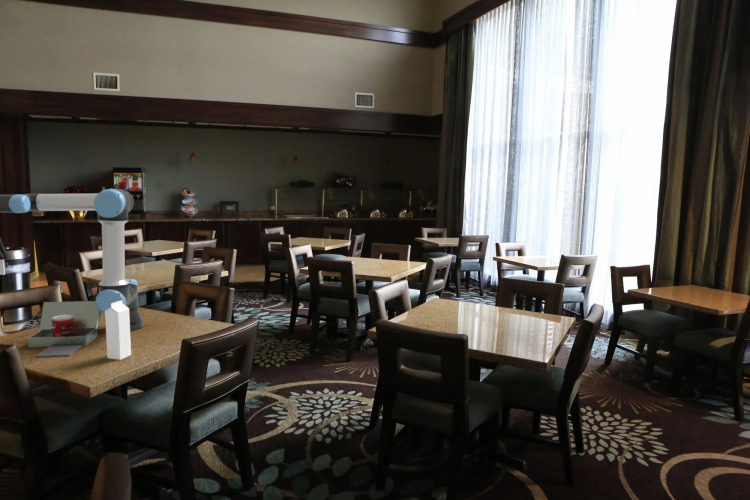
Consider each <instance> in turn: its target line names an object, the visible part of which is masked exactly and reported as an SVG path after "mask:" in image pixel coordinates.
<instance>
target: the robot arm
mask: <svg viewBox="0 0 750 500" xmlns="http://www.w3.org/2000/svg"><path fill="white" fill-rule="evenodd" d="M134 200H135V199H134V197H133V196H132V194H131V192H129V191H127V190H125V189H122V188H107V189H104V190H102V191H100V192H97V193H25V194H18V193H17V194H0V213H3V214H4V213H5V214H6V213H8V214H9V213H11V214H14V213H15V214H25V213H28V212H49V211H50V212H54V211H57V212H61V211H62V212H63V211H64V212H65V211H67V212H68V211H69V212H73V211H76V212H77V211H95V212H96V213H97V222H99V223H100V224H101V239H102V240H101V242H102V243H101V244H102V249H101V252H102V256H101V257H102V280H101V281H100V282H98V294H97V296H96V297H95V301H96V306H97V308H98V309H99V310H100V311H101V314H104V315H105V311H106V310H107V309H109V308H111V303H114V302H117V301H121V300H122V301H123V304H124V305H125V306H126V307H128V308H129V318H130V332H131V331H135V330H139V329H142V328H143V327H144V321H143V318H142V315H141V313H140V310H139V293H138V288H139V285H138V280H136V279H135V278H126V268H125V267H126V264H125V263H126V261H125V260H126V257H125V252H126V251H125V245H126V244H125V224H126V223H128V222H129V213H130V212H131V211H132V209H133V208H134V204H135V201H134ZM7 259H8V253H7V250H6V248H5V246H4V243H3V241H2V237H1V236H0V276H1V275H2V276H3V275H6V265H5V260H7Z"/></svg>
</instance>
